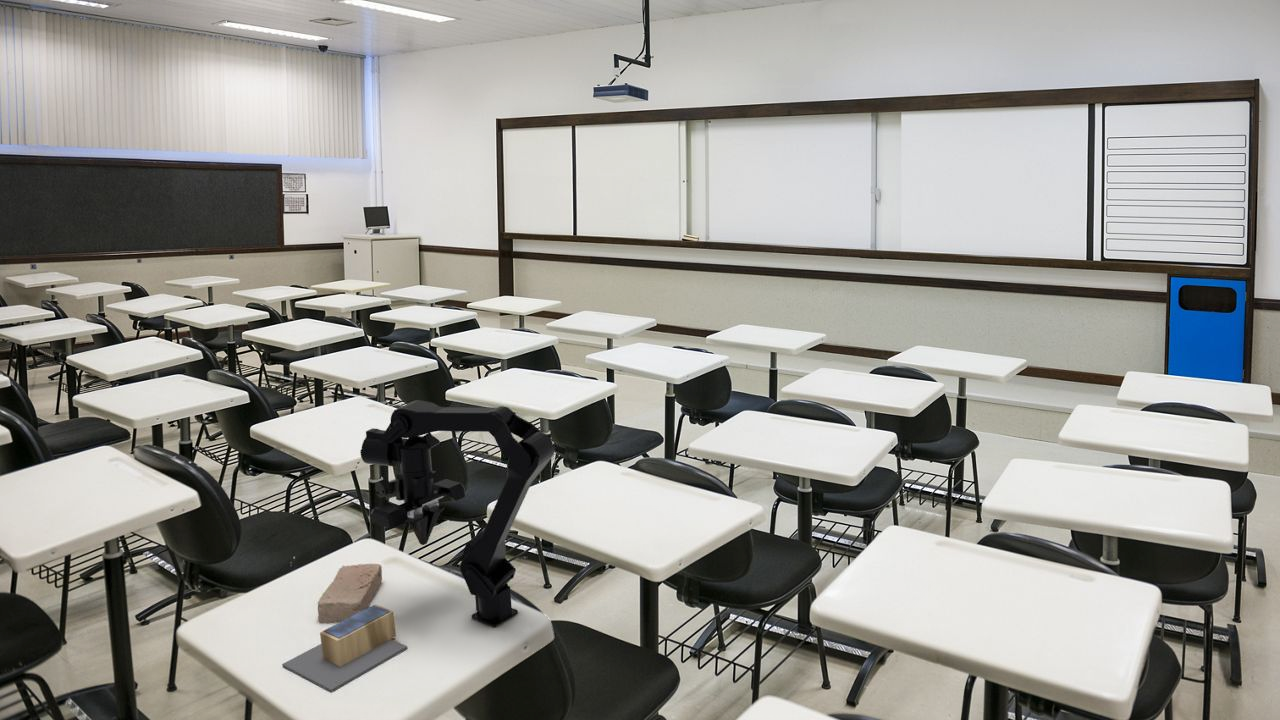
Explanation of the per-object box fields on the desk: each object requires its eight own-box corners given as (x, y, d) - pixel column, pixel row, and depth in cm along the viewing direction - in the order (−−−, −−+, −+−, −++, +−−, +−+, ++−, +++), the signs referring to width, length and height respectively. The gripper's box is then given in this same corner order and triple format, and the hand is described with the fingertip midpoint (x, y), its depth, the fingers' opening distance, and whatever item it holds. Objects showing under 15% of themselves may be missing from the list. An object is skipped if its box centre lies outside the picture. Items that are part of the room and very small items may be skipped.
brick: (360, 623, 173) (358, 600, 172) (316, 624, 173) (314, 602, 172) (384, 583, 189) (382, 562, 188) (344, 584, 189) (341, 563, 188)
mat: (407, 648, 163) (407, 646, 163) (331, 692, 151) (331, 689, 151) (358, 626, 171) (358, 624, 171) (282, 666, 159) (282, 664, 159)
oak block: (393, 610, 165) (337, 639, 156) (396, 636, 167) (340, 666, 157) (375, 603, 168) (319, 631, 159) (378, 628, 170) (323, 658, 160)
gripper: (425, 446, 184) (432, 518, 188) (348, 474, 169) (357, 552, 173) (464, 456, 178) (470, 530, 181) (387, 486, 163) (395, 566, 167)
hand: (423, 544), depth 176 cm, fingers closed
